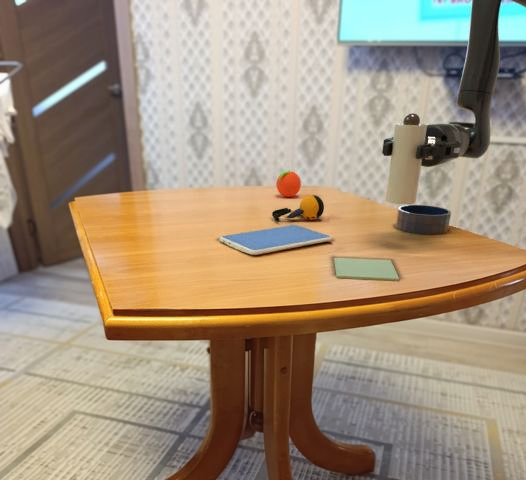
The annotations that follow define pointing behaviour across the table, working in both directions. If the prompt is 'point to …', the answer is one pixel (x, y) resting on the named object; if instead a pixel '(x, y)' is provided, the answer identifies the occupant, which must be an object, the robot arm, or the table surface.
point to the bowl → (423, 219)
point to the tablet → (274, 239)
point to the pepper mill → (405, 161)
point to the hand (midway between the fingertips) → (401, 150)
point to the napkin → (365, 269)
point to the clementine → (288, 184)
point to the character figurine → (303, 209)
